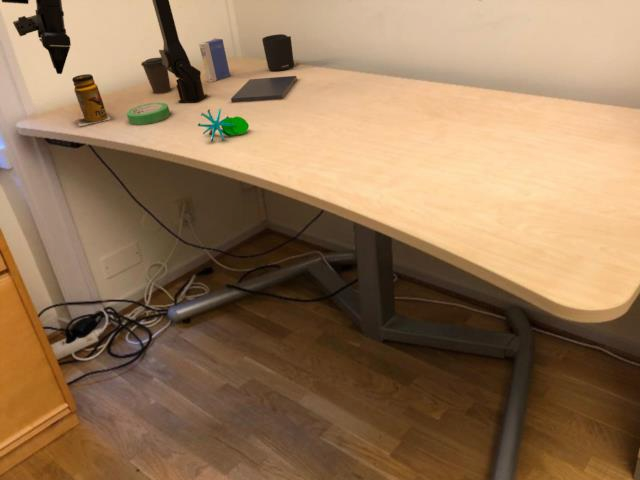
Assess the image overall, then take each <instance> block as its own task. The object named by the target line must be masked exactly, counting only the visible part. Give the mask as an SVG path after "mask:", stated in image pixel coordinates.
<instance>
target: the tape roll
mask: <svg viewBox="0 0 640 480" xmlns="http://www.w3.org/2000/svg"><path fill="white" fill-rule="evenodd" d="M126 116H127V120H128V123H129V124H131V125H133V126H142V125H143V126H144V125H150V124H154V123H158V122H161V121H164V120H167V118H169V117H170V116H171V111H170V109H169V105H168V104H167V103H165V102H151V103H150V102H149V103H146V104H141V105H138V106H137V105H136V106H134V107H131V108H130V109H128V110H127V111H126Z"/></svg>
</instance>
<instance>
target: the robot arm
mask: <svg viewBox="0 0 640 480" xmlns="http://www.w3.org/2000/svg"><path fill="white" fill-rule="evenodd" d="M151 1H152V4H153V9H154V13H155V16H156V19H157V23H158V27H159V30H160V34H161V38H162V42H163V49H158V52H159V55H160V57H161V58H162V65H164V66H165V67H166V68H167V70H168V72H170V73H171V74H173V75H174V76H175V78H176V86H175V87H176V89H177V93H178V97H179V100H178V103H199V102H201V101H202V100H204V99H206V98H207V97H208V94H207V93H205V91H204V87H203V82H202V79H201V74H202V73H201V72H202V71H200V70H199V69H197V68H196V67H195V66H193V65H192V64H191V61H190V59H189V56H188V55H187V52H186V50H185V48H184V47H183V45H182V43H181V41H180V38H179V34H178V31H177V27H176V21H175V20H174V15H173V11H172V8H171V4H170V0H151ZM1 3H5V4H6V3H7V4H20V5H21V4H23V5H29V0H1ZM35 4H36V9H35V15H30V16H28V17H27V16H25V15H23V16H20V17H18V18H17V20H14V21H13V22H12V24H13V26H14V28H15V30H16V31H17V33H18V36H19V37H23V36H27V34H31V33H34V32H37V37H38V39H39V41H40V42H41V45H42V47H43V48H44V49H46V50H47V52H48V54H49V57H50V61H51V63H52V66H53V68H54V69H55V72H56V74H57V75H62V74H63V71H64V68H65V65H66V61H67V58H68V55H69V52H70V49H71V46H72V43H71V37H70V36H69V35H68V34H67V29H66V27H65V18H64V16H65V11H64V10H63V1H62V0H35Z"/></svg>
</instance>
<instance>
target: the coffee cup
mask: <svg viewBox="0 0 640 480" xmlns="http://www.w3.org/2000/svg"><path fill="white" fill-rule="evenodd" d="M140 66H142V68H143V70H144V73H145V76H146V78H147V80H148V82H149V85H150V87H151V91H152V92H153V94H156V95H157V94H158V95H159V94H166V93H169V92H170V91H171V90H172V89H171V82H170V76H169V71H168V70H167V68H166V67H165V66H164V65H162V57H161V56H159V57H152V58H147V59H146V60H144V61H142V62H141V65H140Z"/></svg>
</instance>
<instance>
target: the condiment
mask: <svg viewBox="0 0 640 480" xmlns="http://www.w3.org/2000/svg"><path fill="white" fill-rule="evenodd" d="M71 81H72V82H73V86H74V93H75V96H76V99H77V101H78V105H79V107H80V110H81V113H82V116H83V118H78V119H75V122H76V123H77V125H78V127H83V126H87V125H91V124H96V123H100V122H105V121H109V120H111V119H112V118H111V117H110V116H109V115H108V114H107V110H106V108H105V107H106V106H105V104H104V102H103V99H102V96H101V93H100V89H99V87H98V84H96V83H95V79H94V76H93V75H92V74H91V73H85V74H79V75H76V76H74V77H72V80H71Z"/></svg>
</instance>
